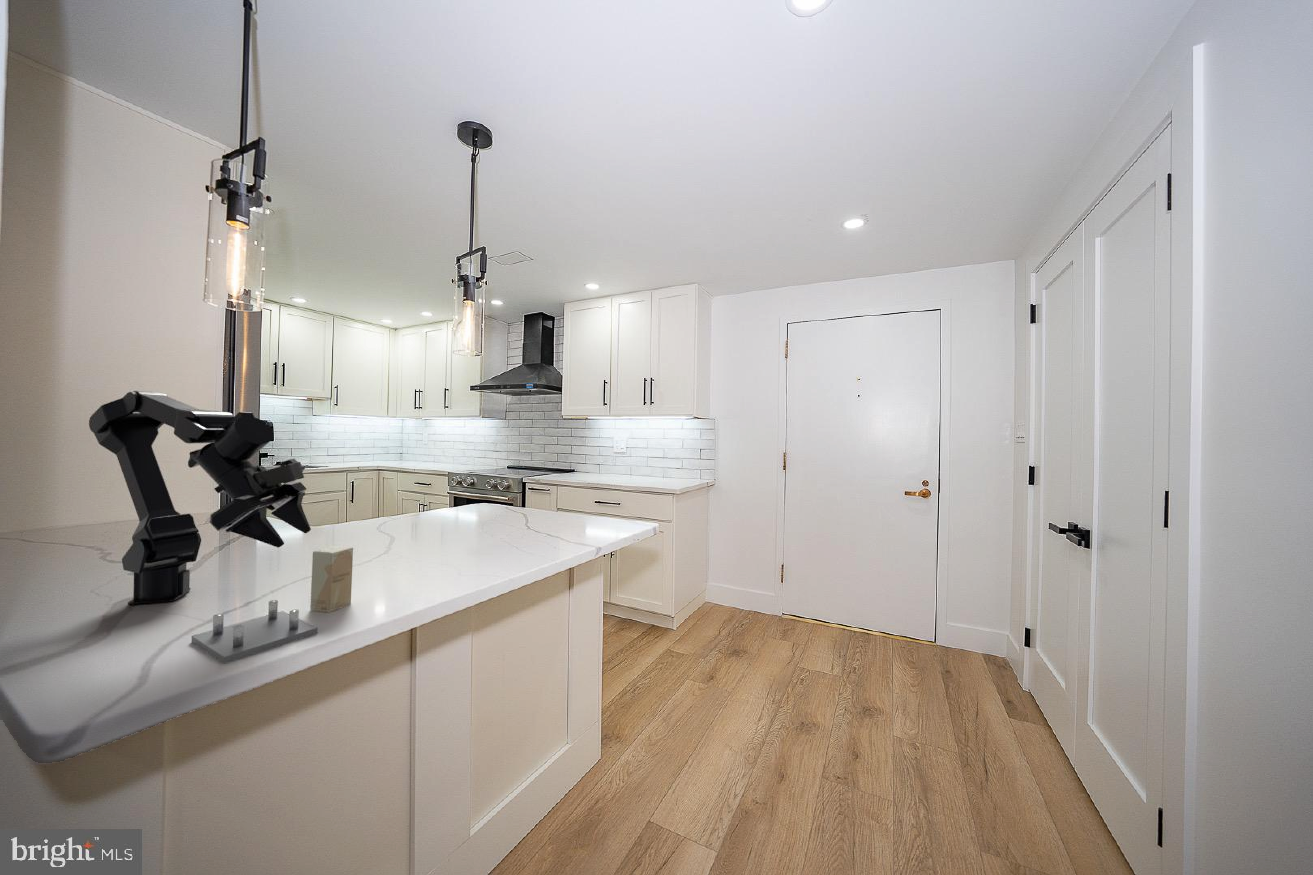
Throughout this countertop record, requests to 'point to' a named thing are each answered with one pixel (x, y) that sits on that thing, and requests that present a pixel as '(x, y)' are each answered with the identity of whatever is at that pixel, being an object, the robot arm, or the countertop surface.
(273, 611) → the pin tray
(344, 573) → the box
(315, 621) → the countertop surface
